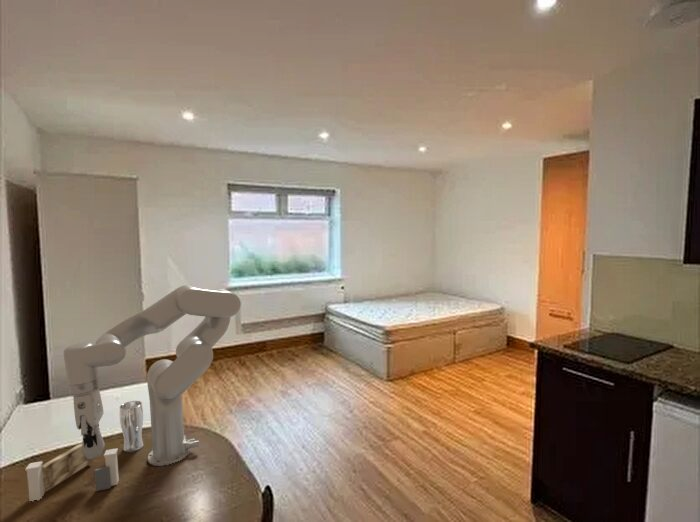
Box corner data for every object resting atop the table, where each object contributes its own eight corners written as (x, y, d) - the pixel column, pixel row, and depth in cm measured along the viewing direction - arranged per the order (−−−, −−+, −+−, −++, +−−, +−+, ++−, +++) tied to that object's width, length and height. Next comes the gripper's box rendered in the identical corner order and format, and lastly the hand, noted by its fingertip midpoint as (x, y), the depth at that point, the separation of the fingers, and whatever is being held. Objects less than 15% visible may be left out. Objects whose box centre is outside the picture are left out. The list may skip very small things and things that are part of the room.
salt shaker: (94, 461, 118) (88, 418, 117) (78, 460, 119) (71, 418, 118) (110, 449, 124) (104, 409, 122) (94, 448, 125) (88, 408, 124)
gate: (47, 491, 115) (44, 467, 115) (42, 490, 116) (40, 466, 115) (93, 461, 130) (92, 440, 129) (89, 461, 130) (87, 439, 130)
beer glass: (129, 455, 135) (126, 411, 133) (117, 449, 138) (114, 406, 137) (149, 445, 141) (146, 403, 139) (137, 440, 144) (134, 398, 143)
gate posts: (119, 479, 122) (117, 448, 121) (116, 487, 118) (114, 455, 117) (32, 495, 115) (29, 463, 114) (26, 505, 111) (23, 471, 110)
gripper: (91, 394, 113) (100, 456, 115) (105, 373, 128) (113, 429, 130) (59, 400, 110) (69, 463, 112) (78, 378, 126) (86, 434, 128)
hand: (93, 444), depth 121 cm, fingers closed on salt shaker, 3 cm apart
